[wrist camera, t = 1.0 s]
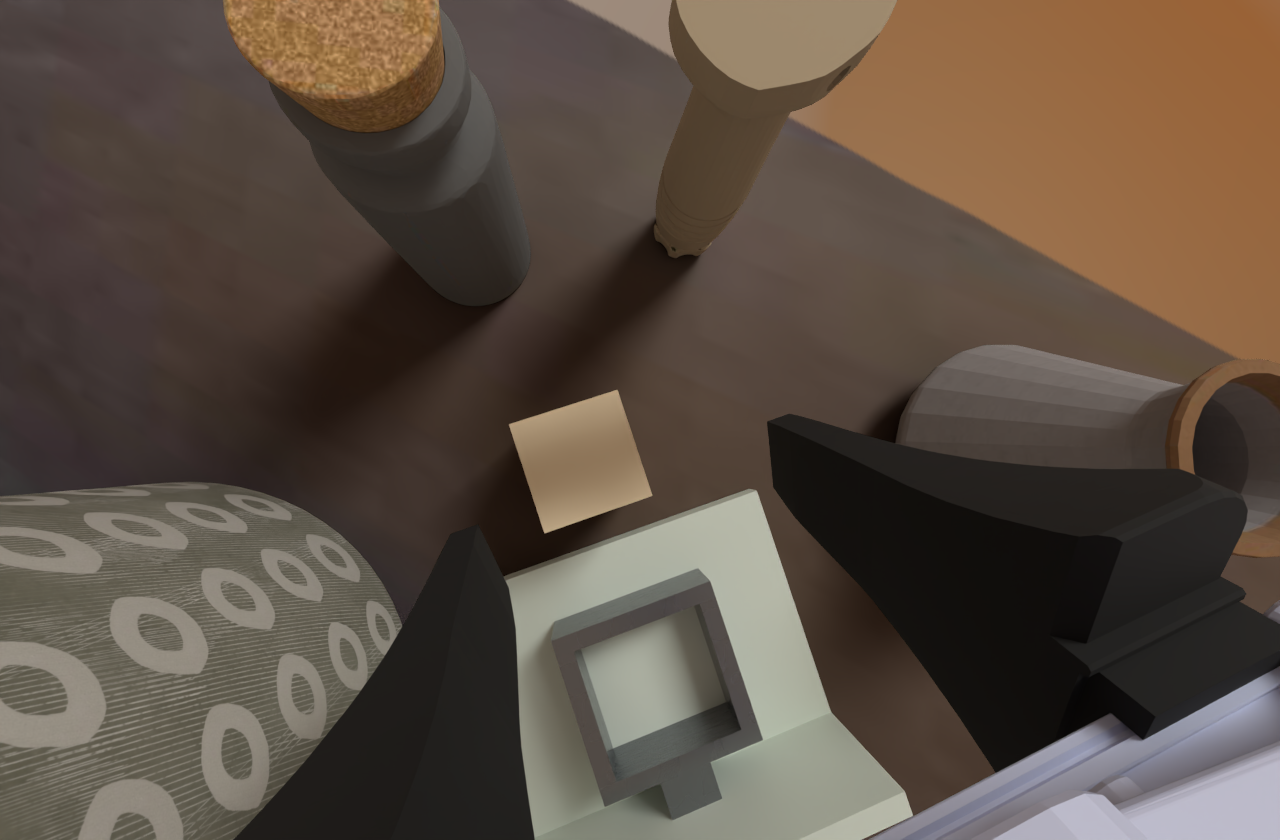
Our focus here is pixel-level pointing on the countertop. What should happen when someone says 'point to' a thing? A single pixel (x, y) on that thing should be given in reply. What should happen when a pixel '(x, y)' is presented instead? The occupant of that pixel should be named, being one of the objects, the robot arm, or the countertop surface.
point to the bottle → (397, 131)
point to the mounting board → (690, 691)
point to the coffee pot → (1109, 422)
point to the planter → (171, 656)
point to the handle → (747, 97)
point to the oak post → (580, 460)
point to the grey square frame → (679, 747)
